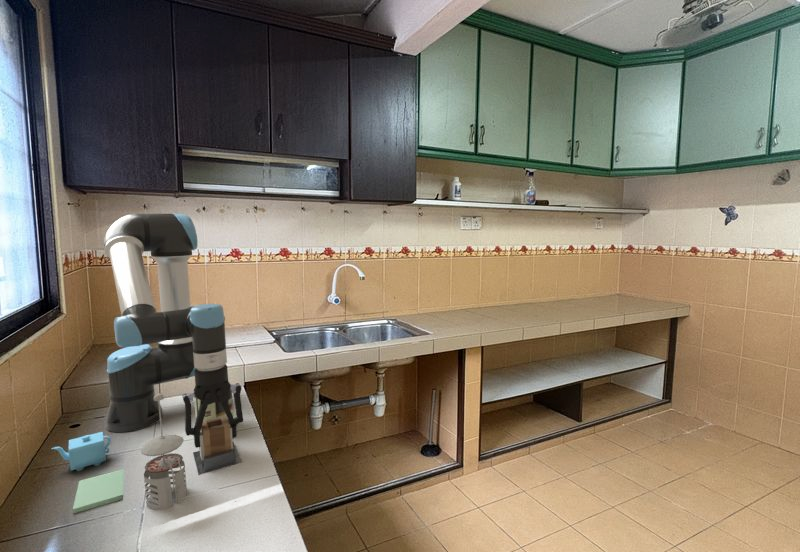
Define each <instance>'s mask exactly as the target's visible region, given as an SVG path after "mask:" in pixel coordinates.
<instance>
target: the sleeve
mask: <svg viewBox="0 0 800 552" xmlns="http://www.w3.org/2000/svg"><path fill="white" fill-rule="evenodd" d="M215 425H219V426H215ZM212 426H215V427H212ZM201 431H202V433H203V441H204V455H205V456H208V455H212V454H215V453H219V452H223V451H226V450H230V449H231V439H230V425H229V423H228V421H227V419H226V416H224V417H220V418H216V419H211V420H207V421H203V423H202V427H201Z"/></svg>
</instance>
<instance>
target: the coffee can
mask: <svg viewBox="0 0 800 552" xmlns="http://www.w3.org/2000/svg"><path fill="white" fill-rule="evenodd" d="M225 400H226V402H227V404H228V406H229V409H230V411H231V413H232V415H233V418H235V416H234V414H235V413H234V398H233V393H232V391H231V389H230V390H229V391H228V393H227V394H226V396H225ZM193 402H194V415H195V419H196V418H197V414H198V411H199V407H200V402H201V400H199V399H198V398H197V397H196V396H194V398H193ZM224 416H226V419H227V421H228V423H229V424H230V422H229V420H228V417H227V415H226V413H225V411H224V409H223V406H222V404H221V402H218V403H212V404H209V405H208V407H207V409H206V412H205V416H204V420H203V421H207V420H211V419H216V418H220V417H224Z"/></svg>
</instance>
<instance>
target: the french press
mask: <svg viewBox="0 0 800 552" xmlns="http://www.w3.org/2000/svg"><path fill="white" fill-rule="evenodd" d="M164 399H165V398H164V394H163V393H157V394H155V396H154V401H158V404H159V415H160V420H159V425H160V435H159V436H156V437H153V438H151V439H149V440H148V441H147V442H145V443H144V444H143V445H142V446H141V448H140V449H139V450H140V453H141V454H142V455H143V456H146V457H154V458H152V459H150V460H149V461H148V462H147V463H145V466H144V469H145V471H144V472H143V482H144V483H145V484H144V489H145V490H144V492H145V495H146V496H145V504H146V508H149V509H152V510H163V509H168V508H172V507H173V505H174V504H173V493H172V492H173V491H175V503H176V504H179V503H180V502H182V501H183V500H184V498H186V496H187V493H188V489H187V477H186V476H187V475H186V464H185V461H184V460H183V459H184V458H183V456H182V455H181V454H179V453H172V452H174V451H176V450H177V449H179V447H181V446H182V444H183V443H184V441H185V439H184V437H183V436H181V435H177V434H163V427H162V426H163V425H162V418H161V412H160V405H161V401H163V400H164ZM178 468H179V470H173V469H178ZM170 475H171V476H170ZM171 480H172V481H171ZM174 489H175V490H174ZM156 493H157V494H156ZM152 497H154V498H152ZM155 498H156V499H155ZM148 501H149V502H148ZM150 502H152V503H150ZM153 503H154V504H153ZM155 503H156V504H158V505H156V504H155Z"/></svg>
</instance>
